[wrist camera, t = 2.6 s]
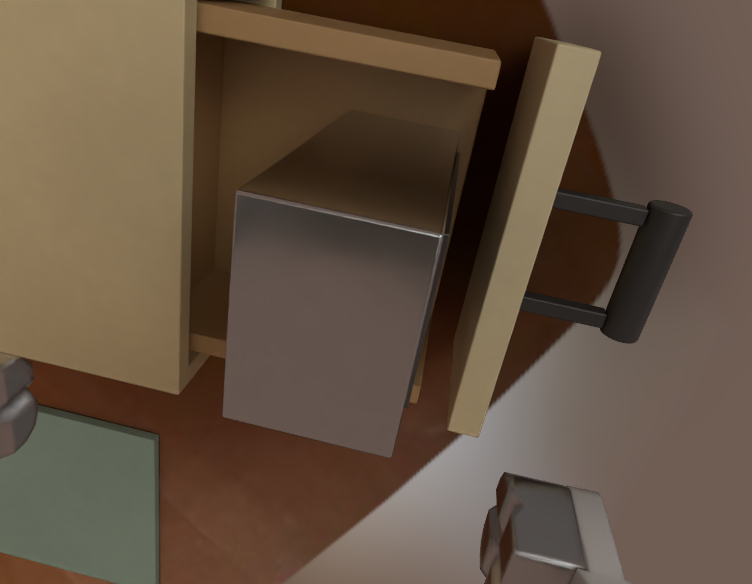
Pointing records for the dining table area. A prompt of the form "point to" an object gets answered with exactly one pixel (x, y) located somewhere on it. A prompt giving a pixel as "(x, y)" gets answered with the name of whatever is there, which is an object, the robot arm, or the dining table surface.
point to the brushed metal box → (338, 280)
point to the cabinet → (99, 186)
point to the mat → (83, 498)
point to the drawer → (421, 105)
